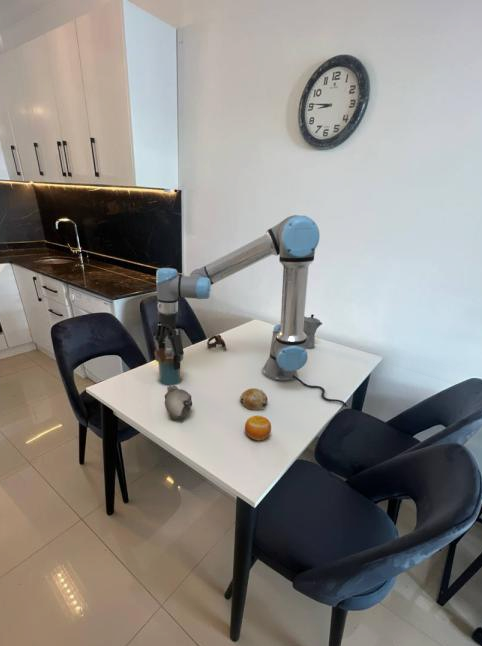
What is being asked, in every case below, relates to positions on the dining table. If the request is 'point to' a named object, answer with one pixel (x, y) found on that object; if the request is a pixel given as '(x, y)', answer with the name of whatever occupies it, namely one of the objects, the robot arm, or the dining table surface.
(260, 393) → the brown oval lump
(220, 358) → the dining table surface
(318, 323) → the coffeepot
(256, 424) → the fruit
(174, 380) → the canister
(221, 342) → the brown strappy sandal
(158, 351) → the lid
